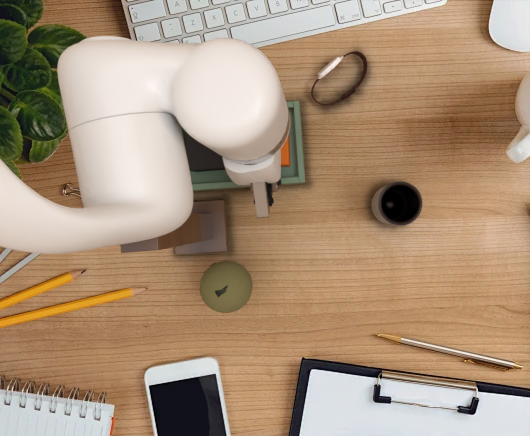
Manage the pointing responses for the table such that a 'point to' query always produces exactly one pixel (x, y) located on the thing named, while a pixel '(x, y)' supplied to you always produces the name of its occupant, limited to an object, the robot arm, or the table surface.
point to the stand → (192, 232)
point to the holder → (288, 174)
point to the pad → (202, 157)
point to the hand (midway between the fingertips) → (264, 143)
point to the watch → (331, 66)
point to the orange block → (285, 153)
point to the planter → (397, 203)
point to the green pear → (226, 286)
